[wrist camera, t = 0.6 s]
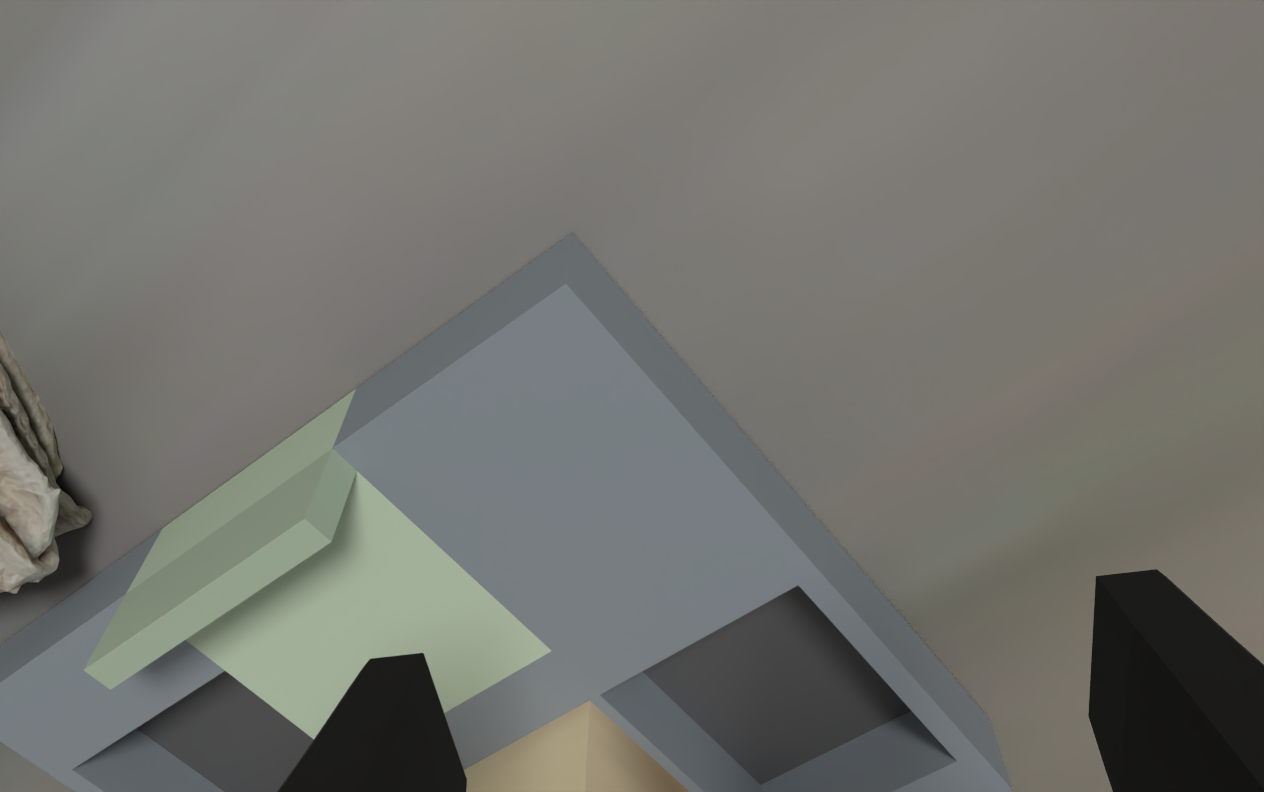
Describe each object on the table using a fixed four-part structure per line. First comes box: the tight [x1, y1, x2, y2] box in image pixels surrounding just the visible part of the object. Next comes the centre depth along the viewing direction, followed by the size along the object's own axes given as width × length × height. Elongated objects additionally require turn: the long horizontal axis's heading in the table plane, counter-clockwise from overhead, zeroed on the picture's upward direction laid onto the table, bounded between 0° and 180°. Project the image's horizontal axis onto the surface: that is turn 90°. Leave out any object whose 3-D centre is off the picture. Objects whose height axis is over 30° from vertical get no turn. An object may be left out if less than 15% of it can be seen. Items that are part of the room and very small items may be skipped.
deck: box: [0, 233, 1013, 792], centre depth 25 cm, size 15×16×4 cm
